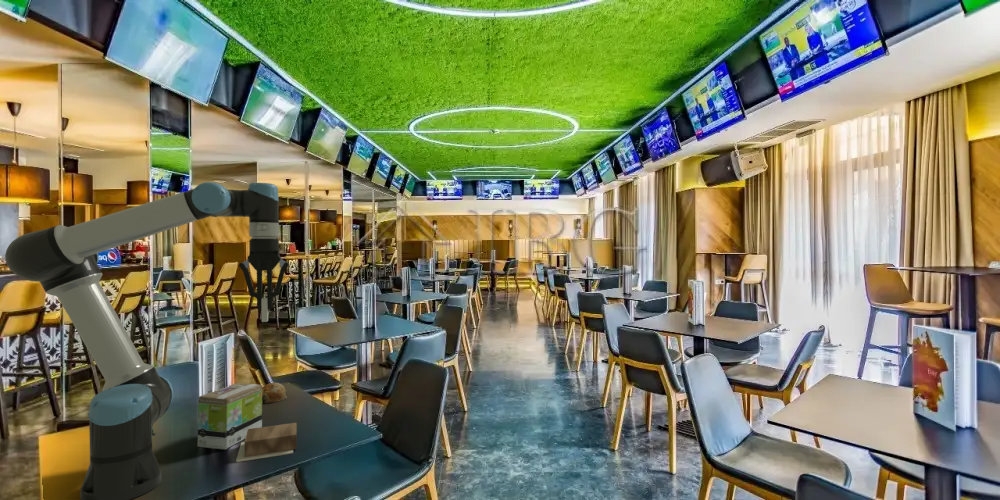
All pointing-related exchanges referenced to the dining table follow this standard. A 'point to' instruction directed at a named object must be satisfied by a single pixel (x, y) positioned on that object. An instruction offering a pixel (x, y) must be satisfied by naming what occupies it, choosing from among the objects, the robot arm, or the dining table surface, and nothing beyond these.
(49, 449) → the dining table surface
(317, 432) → the dining table surface
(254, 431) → the slab
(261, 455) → the mat
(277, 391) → the bread roll
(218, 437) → the tea box
